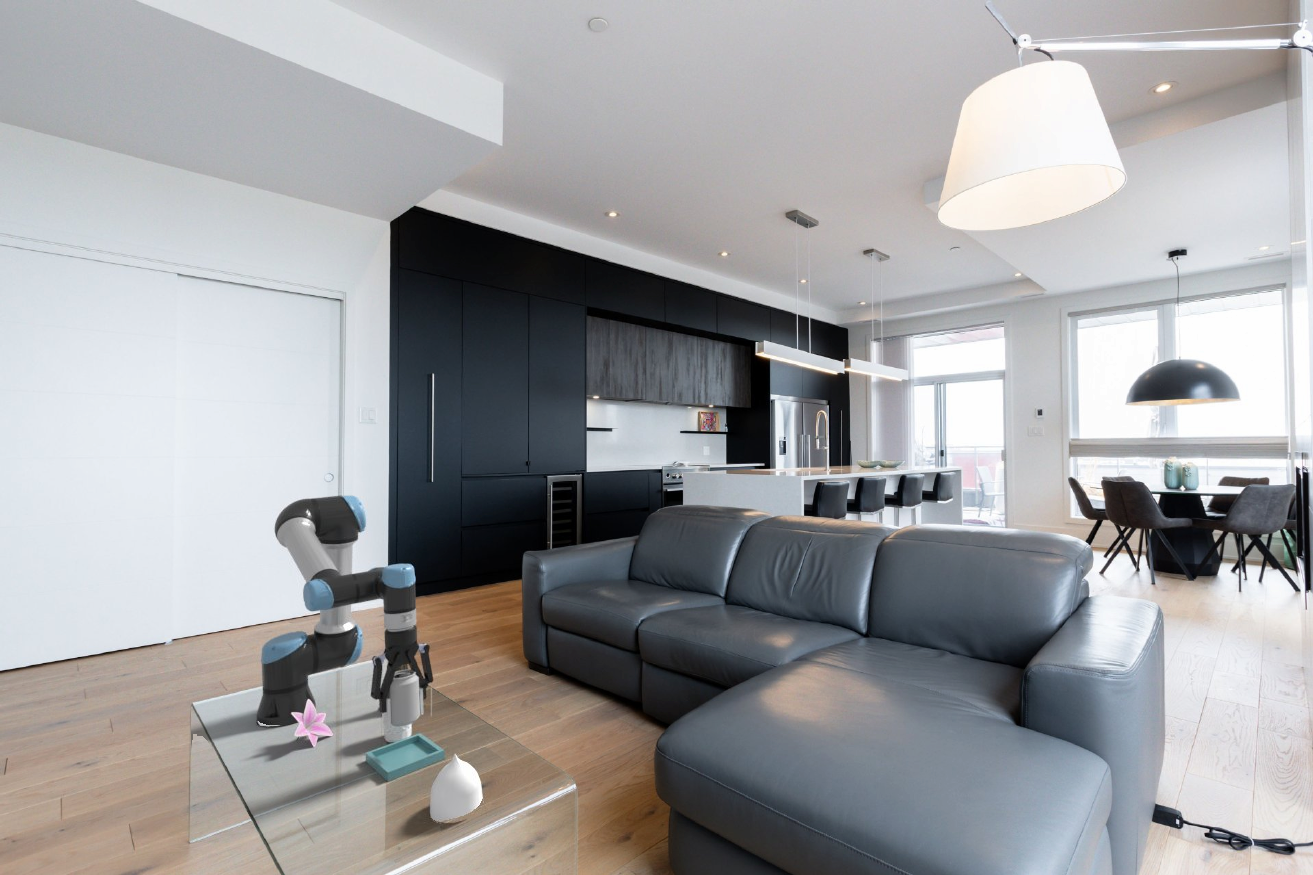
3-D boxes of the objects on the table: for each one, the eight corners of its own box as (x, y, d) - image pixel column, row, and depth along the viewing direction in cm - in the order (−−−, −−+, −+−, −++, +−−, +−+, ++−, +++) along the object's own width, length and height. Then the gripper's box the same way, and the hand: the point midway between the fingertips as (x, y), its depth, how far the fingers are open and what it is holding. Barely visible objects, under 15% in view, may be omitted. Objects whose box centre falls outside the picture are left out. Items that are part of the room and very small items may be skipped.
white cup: (402, 744, 165) (401, 706, 165) (376, 743, 167) (374, 705, 167) (419, 731, 173) (418, 694, 173) (394, 729, 174) (392, 693, 174)
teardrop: (481, 819, 131) (479, 762, 131) (426, 828, 129) (424, 769, 129) (484, 790, 142) (483, 737, 142) (433, 798, 140) (431, 744, 140)
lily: (286, 761, 161) (304, 727, 161) (269, 732, 167) (286, 700, 168) (329, 755, 170) (346, 724, 171) (311, 728, 177) (328, 698, 178)
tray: (365, 761, 157) (365, 752, 157) (420, 740, 167) (420, 733, 167) (388, 781, 147) (387, 772, 147) (444, 758, 157) (444, 750, 157)
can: (393, 715, 160) (392, 668, 160) (423, 713, 161) (422, 666, 161) (383, 729, 153) (381, 679, 153) (415, 726, 153) (413, 677, 154)
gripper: (364, 640, 147) (367, 737, 147) (446, 620, 162) (449, 709, 161) (352, 634, 153) (356, 728, 152) (432, 615, 167) (436, 701, 167)
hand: (404, 718), depth 157 cm, fingers closed on can, 7 cm apart
